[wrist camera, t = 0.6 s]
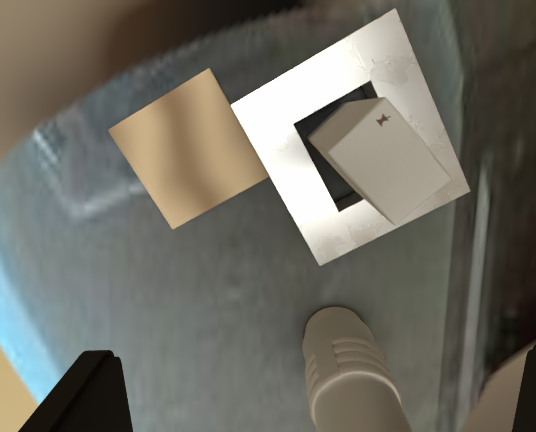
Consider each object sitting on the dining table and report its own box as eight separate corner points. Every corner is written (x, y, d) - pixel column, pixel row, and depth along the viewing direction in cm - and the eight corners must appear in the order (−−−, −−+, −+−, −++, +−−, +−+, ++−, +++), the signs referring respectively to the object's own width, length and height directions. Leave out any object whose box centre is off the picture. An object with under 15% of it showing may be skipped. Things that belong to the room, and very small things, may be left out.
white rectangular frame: (382, 19, 28) (395, 7, 25) (452, 184, 31) (470, 191, 28) (234, 106, 30) (230, 105, 27) (315, 253, 33) (319, 266, 30)
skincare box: (304, 137, 30) (323, 150, 19) (342, 101, 30) (386, 91, 18) (350, 188, 31) (395, 229, 20) (387, 154, 31) (457, 177, 19)
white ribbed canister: (342, 288, 34) (394, 414, 20) (382, 338, 36) (457, 490, 21) (285, 327, 35) (295, 472, 21) (326, 373, 37) (361, 539, 22)
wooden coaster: (210, 68, 29) (209, 67, 28) (269, 175, 31) (269, 176, 31) (110, 129, 30) (107, 130, 30) (174, 227, 33) (172, 229, 32)
